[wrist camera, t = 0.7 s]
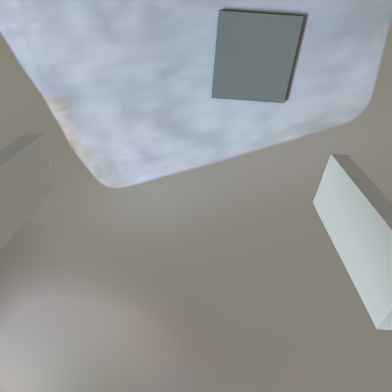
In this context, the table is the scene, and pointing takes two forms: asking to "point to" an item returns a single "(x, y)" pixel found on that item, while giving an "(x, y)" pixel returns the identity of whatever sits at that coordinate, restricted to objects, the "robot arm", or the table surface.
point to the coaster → (254, 55)
